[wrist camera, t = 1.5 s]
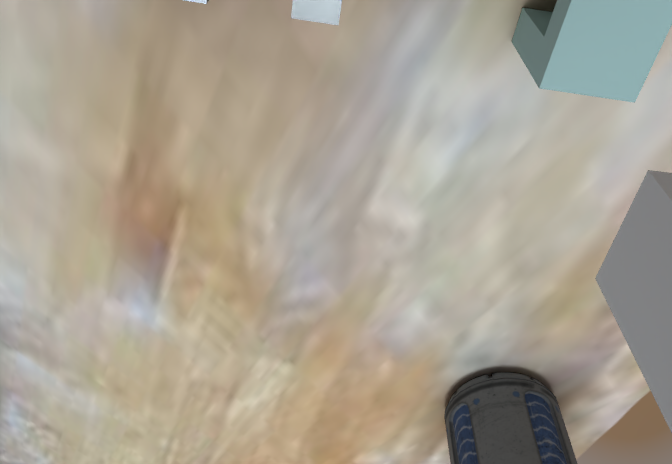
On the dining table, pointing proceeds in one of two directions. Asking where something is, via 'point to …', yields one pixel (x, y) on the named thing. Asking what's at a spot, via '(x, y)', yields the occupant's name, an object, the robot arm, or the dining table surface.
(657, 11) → the pale blue rectangular block
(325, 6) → the block with metal shaft
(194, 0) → the outer sleeve
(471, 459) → the beverage bottle
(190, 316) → the dining table surface
